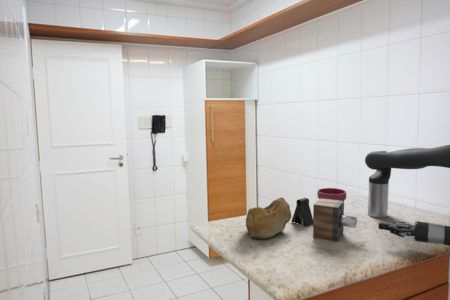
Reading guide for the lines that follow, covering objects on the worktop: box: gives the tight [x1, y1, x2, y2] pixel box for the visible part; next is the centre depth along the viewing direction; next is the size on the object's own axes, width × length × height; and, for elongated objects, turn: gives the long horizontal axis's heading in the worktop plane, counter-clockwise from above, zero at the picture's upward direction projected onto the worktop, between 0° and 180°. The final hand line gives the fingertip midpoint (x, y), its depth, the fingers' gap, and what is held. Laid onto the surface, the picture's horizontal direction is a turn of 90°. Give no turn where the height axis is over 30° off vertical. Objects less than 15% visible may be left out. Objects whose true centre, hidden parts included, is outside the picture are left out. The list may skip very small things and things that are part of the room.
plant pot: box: [316, 187, 347, 202], centre depth 173 cm, size 14×14×13 cm
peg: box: [339, 214, 358, 229], centre depth 140 cm, size 4×10×4 cm, turn 59°
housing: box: [312, 198, 345, 243], centre depth 143 cm, size 12×10×14 cm
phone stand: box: [291, 197, 313, 227], centre depth 160 cm, size 9×6×12 cm, turn 39°
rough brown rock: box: [245, 197, 293, 240], centre depth 149 cm, size 23×17×15 cm
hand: (378, 225), depth 133 cm, fingers closed
